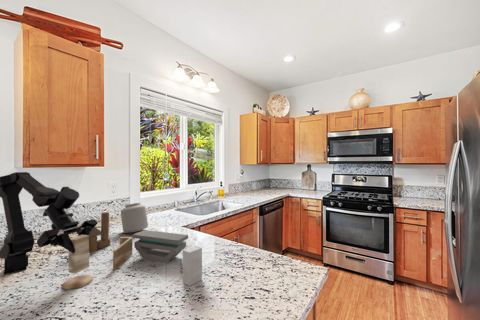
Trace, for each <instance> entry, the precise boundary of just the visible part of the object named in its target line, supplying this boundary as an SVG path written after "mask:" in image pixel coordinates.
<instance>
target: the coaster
mask: <svg viewBox="0 0 480 320" xmlns="http://www.w3.org/2000/svg"><path fill="white" fill-rule="evenodd" d="M93 279H94V278H93V276H92V275H90V274H82V275H78V276H73V277H71V278H69V279H66V280H65V281H64V282H63V283H62V284H61V288H62V289H63V290H68V291H69V290H76V289H77V290H78V289H80V288H83V287H85V286H87V285H90V284H91V283H92V282H93Z"/></svg>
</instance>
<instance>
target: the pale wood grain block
mask: <svg viewBox="0 0 480 320" xmlns="http://www.w3.org/2000/svg"><path fill="white" fill-rule="evenodd" d="M70 239H71V241H72V243H73V246H74V248H75V252H74V253H72V252H70V251H68V250H67V251H68V252H67V253H68V273H70V274H71V273H72V274H75V275H76V274H78V273H80V272H82V271H84V270H87V269H88V268H90V252H89V235H79V236H78V235H76V236H73V237H70Z"/></svg>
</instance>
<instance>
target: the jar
mask: <svg viewBox="0 0 480 320" xmlns="http://www.w3.org/2000/svg"><path fill="white" fill-rule="evenodd" d="M147 215H148V214H147V208H146V206H145V205H144V204H141V202H135V203H130V204H125V205H124V208H122V209H121V210H120V218H121V224H122V225H121V226H122V232H123V233H126V234H129V233H137V232H141V231H143V230H146V229H147V227H148V226H149V223H148V216H147Z"/></svg>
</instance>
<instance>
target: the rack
mask: <svg viewBox="0 0 480 320" xmlns="http://www.w3.org/2000/svg"><path fill="white" fill-rule="evenodd" d="M133 239H134V238H133V237H131V236H129V237H128V236H120V237H119V244H118V246H117V247H116V248H115V249H113V252H112V253H113V254H112V271H116V270H117V269H119V268H120V267H121V266H122V265H123V264H124V263H125V262H126V261H127V260H128V259H129V258H130V257H131V256H132V255H133Z"/></svg>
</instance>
